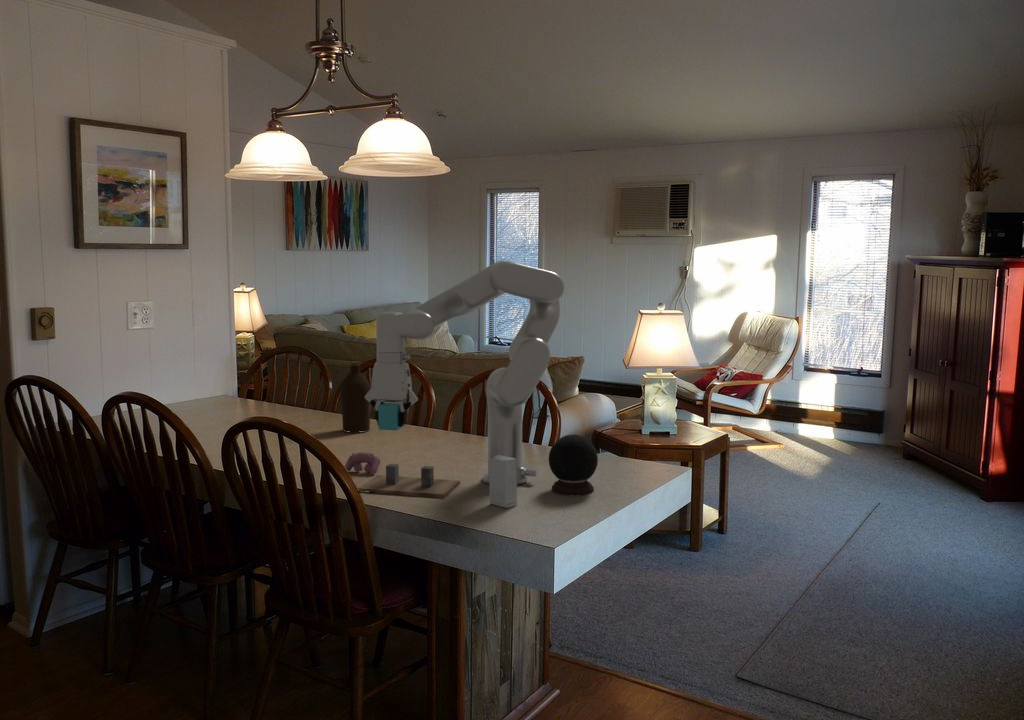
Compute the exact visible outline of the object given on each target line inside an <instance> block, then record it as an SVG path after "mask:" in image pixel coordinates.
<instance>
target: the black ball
mask: <svg viewBox="0 0 1024 720" xmlns="http://www.w3.org/2000/svg"><path fill="white" fill-rule="evenodd" d="M598 462H599V459H598V452H597V449H596V447H595V445H594V444H593V443H592V442H591V441H590V440H589V439H588V438H586V437H584V436H583V435H578V434H568V435H564V436H561V437H560V438H558V439H557V440H556V441H555V442H554V443H553V444H552V446H551V448H550V450H549V453H548V464H549V469H550V470H551V473H552V474H553V475H554V476H555V478H556V479H558V480H557V481H555V482H554V483H553V484H552V486H551V491H552V492H553V491H554V493H555V494H558V495H562V496H569V495H574V496H575V497H577V496H576V495H580V496H586V494H587V495H590V494H592V493H593V492H594V490H595V488H594V486H593V484H592V483H591V482H590V481H588V480H589V479H590V478H591V477H592V476H593V475H594V474H595V472H596V471H597V467H598ZM589 493H590V494H589ZM574 496H573V497H574Z"/></svg>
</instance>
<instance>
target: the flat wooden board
mask: <svg viewBox="0 0 1024 720" xmlns="http://www.w3.org/2000/svg"><path fill="white" fill-rule="evenodd" d="M434 471H435V470H434V466H431V465H423V466H422V467H421V468H420V476H421V477H409V476H399V482H398V483H397V484H396V485H392V484H386V475H381V474H378V475H376V476H375V477H373V478H371V479H370V480H368V481H367V482H365V483H364V484H363V485H361V486H359V487H357V490H358V489H359V491H369V492H376V493H375V494H380V493H389V494H388V495H394V494H399V495H398V496H408V495H409V496H410V497H425V498H437V499H445V498H446V497H447V496H449V495H450V494H451V493H452V492H453V491H454V490H455V489H456V488H458V487H459V486H460V485H461V480H455V479H439V478H434V476H435V475H434V474H435V473H434ZM459 484H460V485H459ZM458 485H459V486H458Z"/></svg>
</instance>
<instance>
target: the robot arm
mask: <svg viewBox="0 0 1024 720" xmlns="http://www.w3.org/2000/svg"><path fill="white" fill-rule="evenodd" d="M564 291H565V285H564V281H563V279H562V277H561V276H560V275H559V274H557V273H556V272H553V271H550V270H547V269H546V270H545V269H543V268H542V269H541V268H538V267H533V266H529V265H526V264H521V263H517V262H515V261H510V260H509V261H508V260H501V261H496V262H494V263H492V264H490V265H488V266H487V267H485V268H483V269H482V270H479V271H478V272H476V273H475V274H473V275H471V276H469V277H468V278H466V279H464V280H462V281H461V282H458V283H457V284H455V285H453V286H451V287H450V288H448V289H447V290H445V291H443V292H442V293H440V294H438V295H436V296H434V297H431V298H429V300H426V301H425V302H423V303H422V304H420V305H418V306H416V307H414V308H413V309H411V310H410V311H408V312H407V313H403V312H399V311H382V312H380V311H379V313H377V315H376V318H375V319H376V321H375V322H376V323H375V324H376V328H375V330H376V331H375V332H376V362H375V363H374V364H373V370H372V376H371V386H370V387H371V389H370V390H369V392H368V393H367V394H366V395H365V399H366V400H367V401H368V402H370V406H372V407H373V408H374V410H375V412H376V413H375V414H376V415H375V416H376V418H375V419H376V423H377V426H378V427H379V421H378V405H380V404H382V403H384V402H397V403H398V405H399V408H400V412H399V413H398V417H399V427H402V426H404V427H405V424H406V423H407V411H408V409H409V408H410V407H411V406H412V405H414V404H415V403H416V402H418V400H419V397H417V395H416V394H415V392H414V391H413V389H412V378H411V376H412V375H411V371H410V366H409V363H408V362H407V360H411V354H407V351H406V339H409V340H417V341H423V340H427V339H428V338H430V337H431V336H432V335H433V334H434V332H435V329H436V327H438V326H441V324H442V325H443V323H445V322H447V321H450V320H452V319H454V318H458V317H461V316H466V315H468V314H471V313H473V312H475V311H477V310H479V309H480V308H482V307H483V306H486V305H487V304H488V303H491V301H493V300H495V299H497V298H499V297H501V296H503V295H504V294H509V295H511V296H514V297H515V296H516V297H520V298H523V299H527V300H529V310H528V313H527V316H526V318H525V320H524V322H523V324H522V325H521V327H520V328H519V330H518V332H517V334H516V335H515V337H514V338H513V340H512V341H511V343H510V345H509V347H508V350H507V351H508V358H509V363H508V365H507V367H500V368H496V369H495V370H492V372H491V373H490V374H489V377H488V378H487V380H486V403H487V472H486V473H484V474H483V475H482V476H481V477H482V481H483V482H484V483H486V484H488V485H489V458H490V457H494V456H497V455H501V456H506V457H510V458H515V459H516V478H517V486H518V485H521V484H524V483H526V482H527V481H528V477H535V478H536V477H538V470H537V469H535V467H534V468H529V467H526V466H525V465H526V464H525V462H523V407H522V405H524V404H525V403H527V401H528V399H530V397H531V395H532V394H533V392H534V390H535V389H536V387H537V386H538V384H539V383H540V380H541V379H542V377H543V375H544V374H545V371H546V370H547V369H548V366H549V363H550V360H551V351H550V350H551V349H550V347H549V345H548V343H549V341H550V339H551V337H552V335H553V333H554V332H555V330H556V327H557V326H558V322H559V320H560V314H561V306H560V298H561V297H562V296H563V294H564ZM407 399H408V401H406V400H407Z"/></svg>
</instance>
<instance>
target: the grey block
mask: <svg viewBox="0 0 1024 720" xmlns="http://www.w3.org/2000/svg"><path fill="white" fill-rule="evenodd" d="M399 466H400V465H399V464H398V463H388V464H387V465H386V466H385V476H386V484H392V485H396V484H397V483H398V482H399V477H400V476H399Z"/></svg>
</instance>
